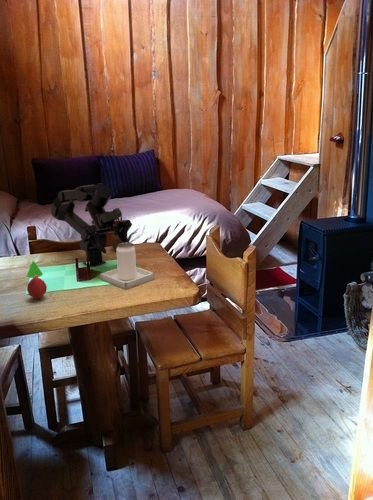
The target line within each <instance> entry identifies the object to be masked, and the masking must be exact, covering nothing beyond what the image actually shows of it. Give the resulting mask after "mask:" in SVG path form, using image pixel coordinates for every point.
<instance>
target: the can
mask: <svg viewBox="0 0 373 500" xmlns="http://www.w3.org/2000/svg"><path fill="white" fill-rule="evenodd" d="M117 246H118V247H117V250H116V263H117V264H116V267H117V268H118V278H119V279H120V280H125V281H127V280H133V279H135V278H136V276H137V272H136V267H137V259H136V257H137V256H136V247H135V246H134V243H133V242H128V243H120V244H118V245H117Z"/></svg>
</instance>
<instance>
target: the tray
mask: <svg viewBox="0 0 373 500" xmlns="http://www.w3.org/2000/svg"><path fill="white" fill-rule="evenodd" d="M136 272H137V276H136V278H135V279H133V280H127V281H125V280H120V279H119V278H118V268H113V269H111V270H108V271H104V272H101V273H100V280H101V281H104V282H106V283H109V284H111V285H114V286H116V287H118V288H120V289H123V290H125V291H126V290H129V289H132V288H134V287H137V286H140V285H144V284H146V283H148V282H151V281H153V280H155V279H156V276H155V275H156V274H155V272H152V271H149V270H146V269H144V268H141V267H138V266H136Z"/></svg>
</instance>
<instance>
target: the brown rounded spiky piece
mask: <svg viewBox="0 0 373 500" xmlns="http://www.w3.org/2000/svg"><path fill="white" fill-rule="evenodd" d="M122 220H123V216H121V217H120V218H119V219H117V220H115V224H113V226H116V225H118V223H119V222H120V221H122ZM118 235H119V234H118V233H117V232H116V231H113V232H112V234H111V237H110V244H111V247H112V249H113V250H114V251H116V250H117V247H118V246H117V245H118V244H120V243H122V241H121V240H120V238H119V237H118Z"/></svg>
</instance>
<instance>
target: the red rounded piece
mask: <svg viewBox="0 0 373 500" xmlns="http://www.w3.org/2000/svg"><path fill="white" fill-rule="evenodd" d="M47 289H48V286H47V284H46V281H44V280H43V279H41V278H40V277H38V276H37V275H35V276H34V278H31V279H30V281H29V282H28V284H27V286H26V291H27V293H28V294H29V296H30V297H31V298H33V299H36V300H40V299H41V298H42V297H43V296H44V295H45V294H46V292H47Z"/></svg>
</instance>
